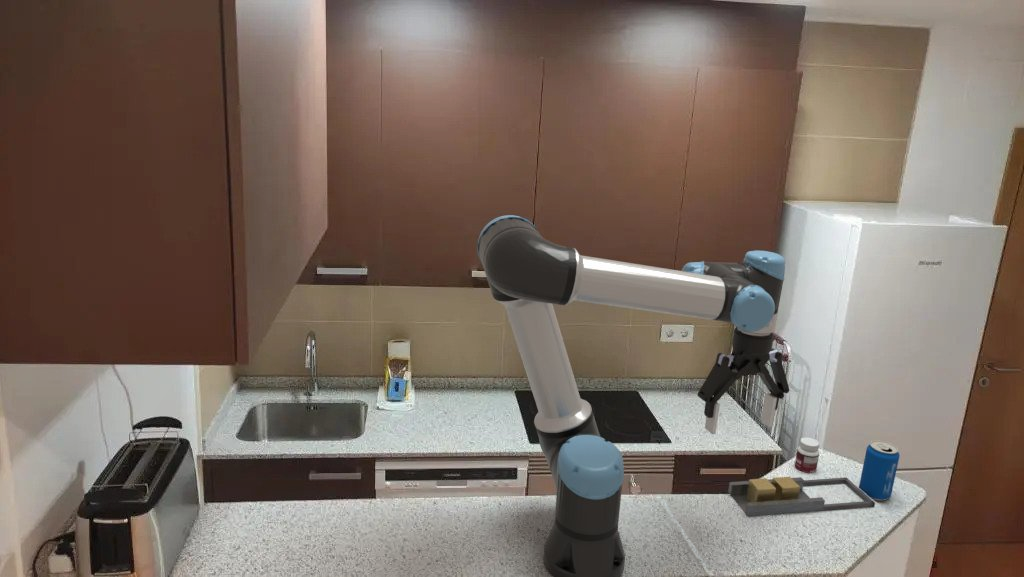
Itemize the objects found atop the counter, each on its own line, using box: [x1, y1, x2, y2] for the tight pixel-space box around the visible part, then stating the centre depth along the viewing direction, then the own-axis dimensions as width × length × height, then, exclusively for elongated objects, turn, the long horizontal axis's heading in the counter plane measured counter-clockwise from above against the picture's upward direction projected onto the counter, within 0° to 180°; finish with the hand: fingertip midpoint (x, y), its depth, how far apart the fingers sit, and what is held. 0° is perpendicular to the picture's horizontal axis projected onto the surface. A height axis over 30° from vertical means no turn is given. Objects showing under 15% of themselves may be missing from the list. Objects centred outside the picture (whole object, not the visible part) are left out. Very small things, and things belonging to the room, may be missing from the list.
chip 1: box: [746, 477, 776, 503], centre depth 151 cm, size 4×4×4 cm
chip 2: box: [772, 476, 800, 501], centre depth 152 cm, size 4×4×4 cm
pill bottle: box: [794, 437, 820, 474], centre depth 165 cm, size 5×5×8 cm
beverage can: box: [858, 439, 900, 502], centre depth 157 cm, size 6×6×12 cm
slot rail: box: [727, 476, 826, 518], centre depth 152 cm, size 17×9×4 cm, turn 100°
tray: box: [803, 476, 876, 512], centre depth 155 cm, size 12×10×2 cm
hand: (738, 427), depth 145 cm, fingers open, 13 cm apart
